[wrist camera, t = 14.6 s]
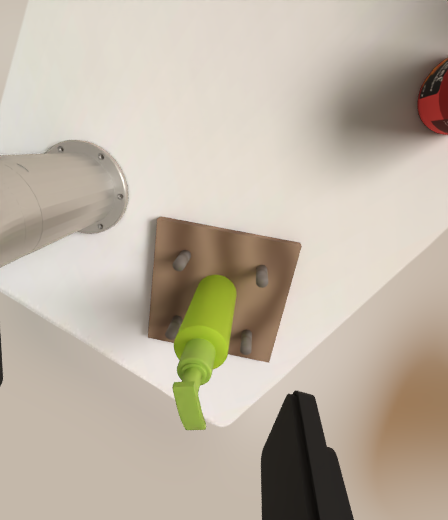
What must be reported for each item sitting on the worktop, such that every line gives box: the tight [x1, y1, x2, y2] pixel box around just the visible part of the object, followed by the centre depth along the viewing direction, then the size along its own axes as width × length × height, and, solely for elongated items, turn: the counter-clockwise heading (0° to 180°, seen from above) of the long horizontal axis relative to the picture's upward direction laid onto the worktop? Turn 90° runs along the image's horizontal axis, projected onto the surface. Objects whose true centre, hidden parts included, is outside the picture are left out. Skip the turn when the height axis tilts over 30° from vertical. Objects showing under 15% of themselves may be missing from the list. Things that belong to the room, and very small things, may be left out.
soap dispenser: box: [172, 275, 236, 430], centre depth 34 cm, size 6×7×20 cm
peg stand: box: [148, 217, 301, 362], centre depth 42 cm, size 20×20×6 cm
